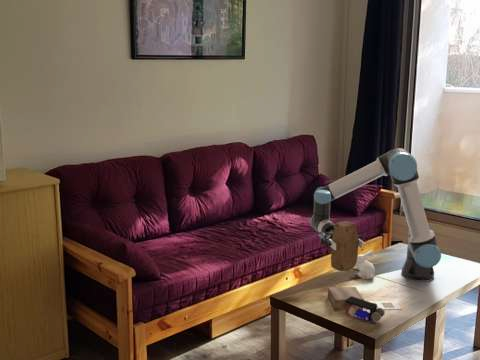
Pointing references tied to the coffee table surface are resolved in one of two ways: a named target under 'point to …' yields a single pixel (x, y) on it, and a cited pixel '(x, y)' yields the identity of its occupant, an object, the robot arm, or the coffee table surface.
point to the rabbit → (365, 266)
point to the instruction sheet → (386, 305)
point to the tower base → (342, 297)
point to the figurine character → (354, 311)
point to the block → (344, 246)
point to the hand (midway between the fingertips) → (349, 246)
